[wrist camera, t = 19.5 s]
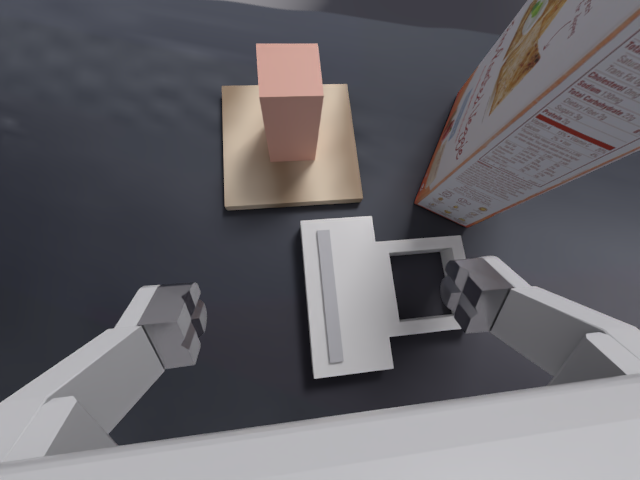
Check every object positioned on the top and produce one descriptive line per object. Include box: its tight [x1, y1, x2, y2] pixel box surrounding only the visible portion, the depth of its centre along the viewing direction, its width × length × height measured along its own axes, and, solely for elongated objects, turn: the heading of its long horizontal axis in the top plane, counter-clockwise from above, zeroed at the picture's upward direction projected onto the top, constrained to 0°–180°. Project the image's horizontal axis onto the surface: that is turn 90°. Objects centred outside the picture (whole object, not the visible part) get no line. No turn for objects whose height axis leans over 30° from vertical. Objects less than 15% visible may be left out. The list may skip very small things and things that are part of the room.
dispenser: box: [300, 216, 466, 379], centre depth 23 cm, size 14×12×2 cm
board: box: [222, 84, 363, 211], centre depth 26 cm, size 12×12×1 cm
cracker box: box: [414, 0, 640, 228], centre depth 18 cm, size 14×6×21 cm, turn 155°
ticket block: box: [256, 44, 324, 162], centre depth 22 cm, size 4×4×8 cm
